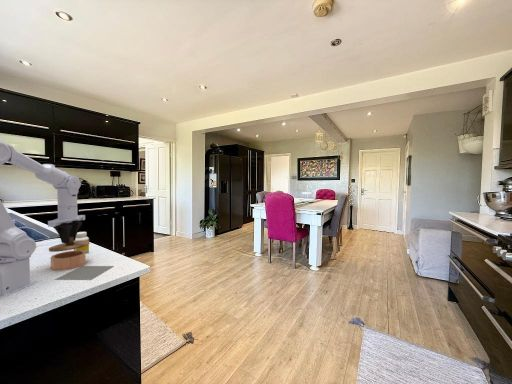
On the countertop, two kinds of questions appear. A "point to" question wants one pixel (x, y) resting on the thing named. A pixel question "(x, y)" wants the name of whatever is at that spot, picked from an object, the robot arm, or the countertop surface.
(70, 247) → the lid
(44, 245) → the countertop surface
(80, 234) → the supplement bottle
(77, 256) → the bowl
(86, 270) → the mat
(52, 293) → the countertop surface
